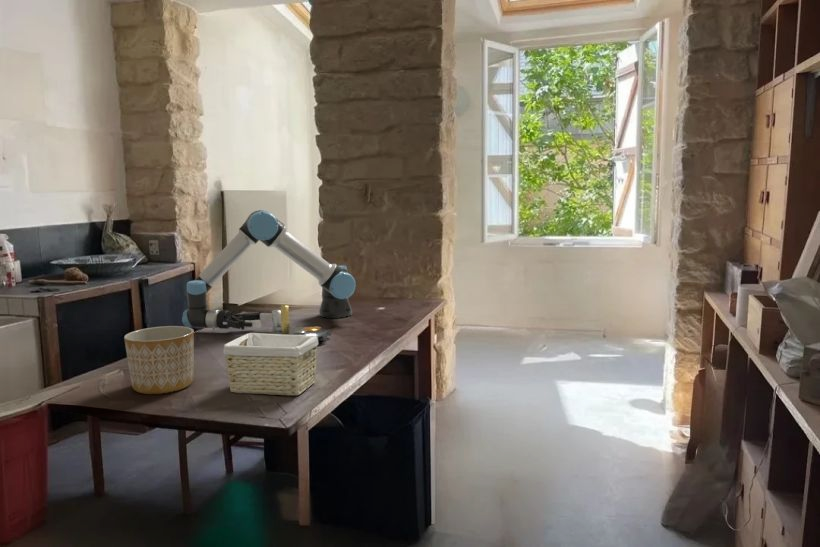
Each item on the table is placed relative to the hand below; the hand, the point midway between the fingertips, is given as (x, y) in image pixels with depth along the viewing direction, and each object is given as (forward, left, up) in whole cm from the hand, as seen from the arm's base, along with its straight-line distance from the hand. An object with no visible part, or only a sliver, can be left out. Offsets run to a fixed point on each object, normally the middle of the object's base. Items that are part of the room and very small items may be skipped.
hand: (268, 320), depth 252 cm
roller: (-4, +1, -6) cm, 7 cm away
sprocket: (-11, +15, -4) cm, 19 cm away
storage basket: (+4, +69, -6) cm, 70 cm away
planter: (+36, +57, -6) cm, 68 cm away
